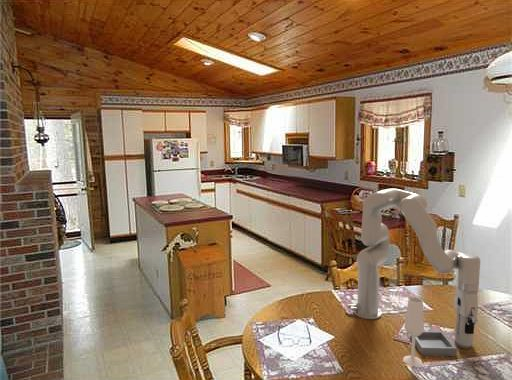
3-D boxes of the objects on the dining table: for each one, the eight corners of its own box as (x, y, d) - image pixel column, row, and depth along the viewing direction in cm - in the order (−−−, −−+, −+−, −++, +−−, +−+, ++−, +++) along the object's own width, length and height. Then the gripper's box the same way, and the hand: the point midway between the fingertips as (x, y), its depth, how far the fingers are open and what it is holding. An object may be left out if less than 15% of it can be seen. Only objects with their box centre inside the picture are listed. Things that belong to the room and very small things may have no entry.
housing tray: (421, 355, 147) (421, 347, 147) (409, 337, 160) (410, 330, 160) (456, 355, 146) (456, 348, 146) (441, 338, 159) (442, 331, 159)
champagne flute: (408, 353, 148) (411, 294, 145) (425, 361, 143) (429, 299, 140) (399, 360, 144) (402, 299, 140) (416, 368, 139) (420, 305, 135)
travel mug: (470, 341, 157) (474, 294, 154) (473, 349, 150) (477, 301, 148) (453, 339, 159) (456, 292, 156) (456, 347, 152) (459, 298, 150)
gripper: (448, 277, 160) (445, 318, 162) (468, 294, 143) (465, 340, 145) (466, 278, 159) (464, 319, 162) (489, 295, 142) (486, 340, 145)
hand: (464, 328), depth 153 cm, fingers closed on travel mug, 6 cm apart
